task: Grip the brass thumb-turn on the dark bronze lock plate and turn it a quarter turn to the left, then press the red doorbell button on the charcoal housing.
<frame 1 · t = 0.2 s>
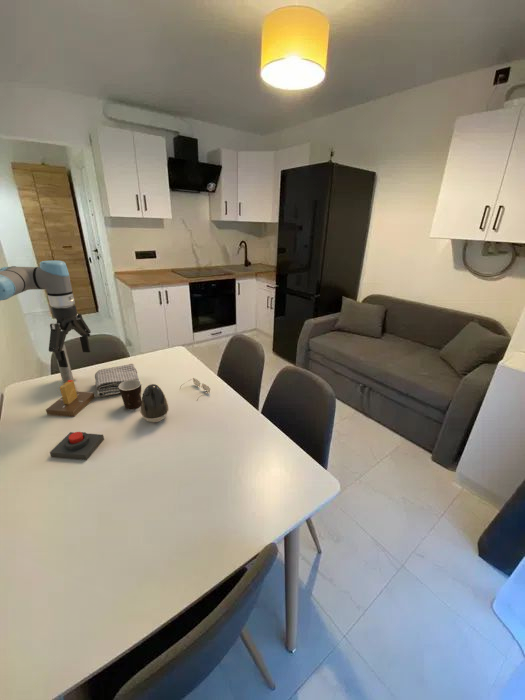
hand: (75, 359, 112), 22 cm above the table, tool pointing down, fingers open, 13 cm apart
coffee mug: (131, 407, 121), on the table
dark egg shape: (155, 418, 115), on the table
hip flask: (68, 385, 135), on the table
thumb turn: (68, 392, 118), point 7 cm above the table, hinge at 0.0°
lock plate: (72, 405, 120), on the table
bell button: (76, 437, 97), point 4 cm above the table, slide at 0.1 cm
towel: (119, 387, 136), on the table
eyeglasses: (195, 392, 134), on the table
doorbell: (78, 448, 99), on the table
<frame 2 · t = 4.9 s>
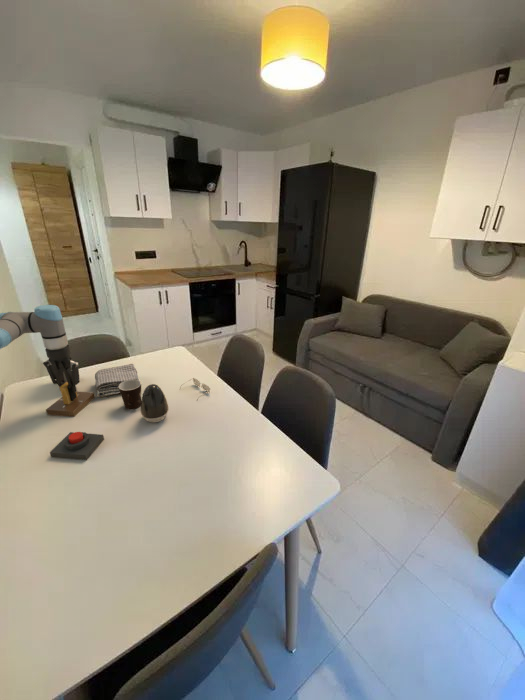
hand: (70, 398, 119), 3 cm above the table, tool pointing down, fingers closed on thumb turn, 2 cm apart
thumb turn: (68, 392, 118), point 7 cm above the table, hinge at 0.0°, touching gripper
everything else where it was.
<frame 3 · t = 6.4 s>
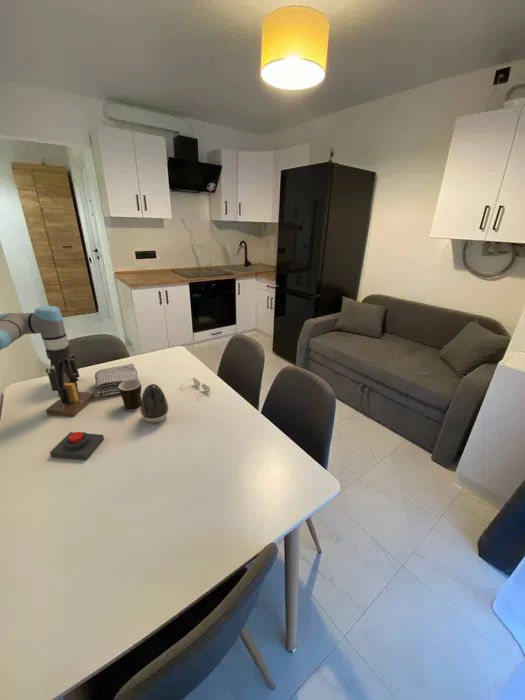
hand: (70, 398, 119), 3 cm above the table, tool pointing down, fingers open, 5 cm apart
thumb turn: (68, 392, 118), point 7 cm above the table, hinge at 89.9°
everything else where it was.
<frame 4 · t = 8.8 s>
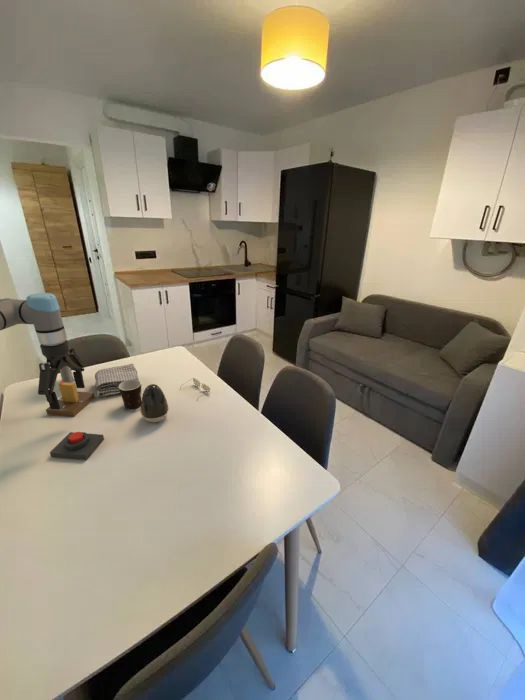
hand: (68, 397, 102), 14 cm above the table, tool pointing down, fingers open, 13 cm apart
nothing on the table moved.
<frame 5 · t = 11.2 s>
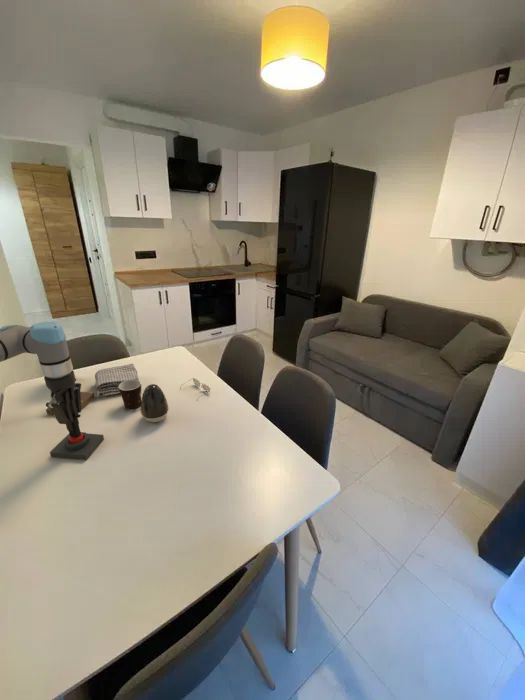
hand: (75, 435, 96), 6 cm above the table, tool pointing down, fingers closed
bell button: (76, 438, 97), point 4 cm above the table, slide at 0.0 cm, touching gripper
everything else where it was.
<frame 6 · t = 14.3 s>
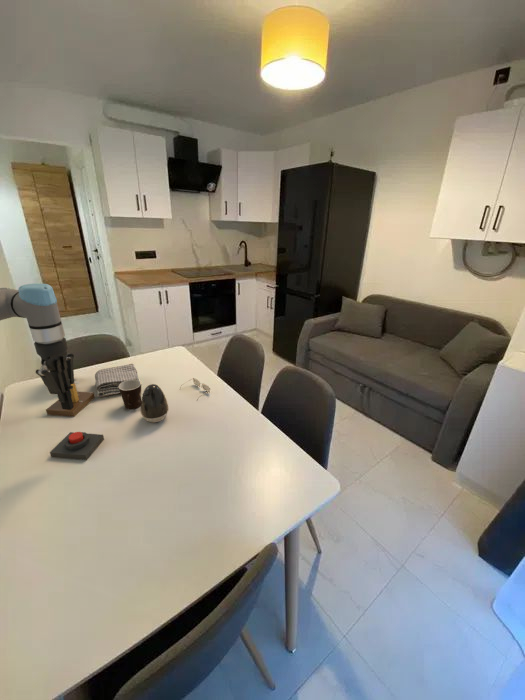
hand: (68, 408, 92), 16 cm above the table, tool pointing down, fingers closed
bell button: (76, 437, 97), point 4 cm above the table, slide at 0.1 cm
everything else where it was.
at the end: thumb turn at +90° (first picture: +0°); bell button pushed in 1.0 cm at the most during the clip, back to where it started at the end; bell button slide at 0.1 cm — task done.
